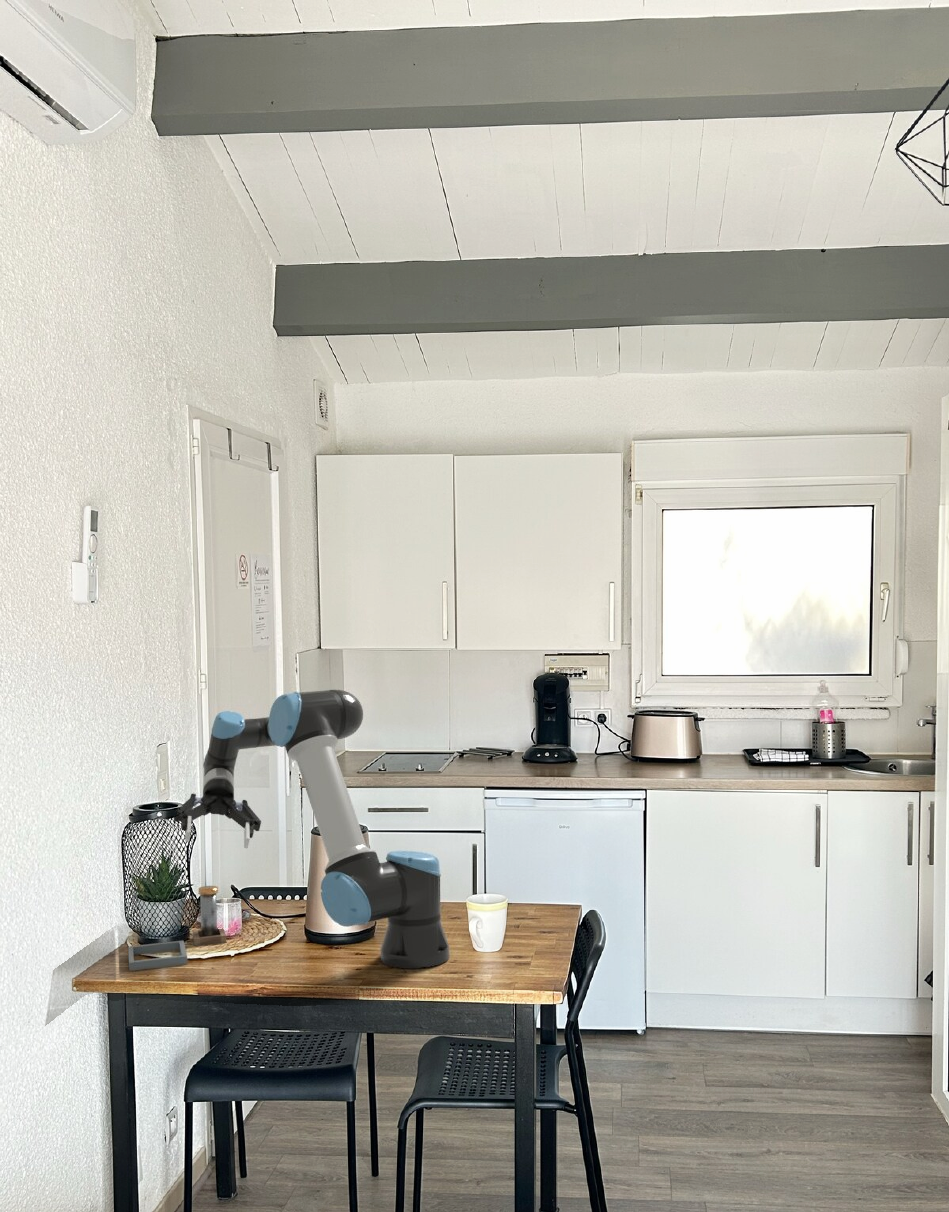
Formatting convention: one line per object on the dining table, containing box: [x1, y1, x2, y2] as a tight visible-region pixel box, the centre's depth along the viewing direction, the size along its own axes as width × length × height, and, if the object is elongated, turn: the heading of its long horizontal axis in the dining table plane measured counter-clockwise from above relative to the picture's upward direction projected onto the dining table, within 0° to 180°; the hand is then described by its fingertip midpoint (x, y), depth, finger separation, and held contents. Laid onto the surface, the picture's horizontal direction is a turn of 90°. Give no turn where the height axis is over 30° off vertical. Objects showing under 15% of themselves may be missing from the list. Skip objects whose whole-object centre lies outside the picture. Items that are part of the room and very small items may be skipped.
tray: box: [127, 939, 188, 972], centre depth 249 cm, size 12×12×2 cm
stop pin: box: [198, 885, 219, 937], centre depth 262 cm, size 4×4×12 cm
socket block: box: [192, 927, 227, 947], centre depth 262 cm, size 7×7×2 cm
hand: (217, 840), depth 264 cm, fingers open, 13 cm apart
